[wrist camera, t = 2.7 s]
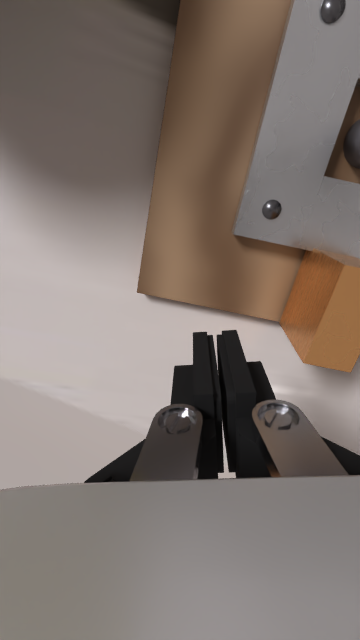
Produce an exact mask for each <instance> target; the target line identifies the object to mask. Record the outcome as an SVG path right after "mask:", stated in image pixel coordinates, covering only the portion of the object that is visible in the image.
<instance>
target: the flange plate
mask: <svg viewBox="0 0 360 640" xmlns="http://www.w3.org/2000/svg"><path fill="white" fill-rule="evenodd" d="M355 86H357V87H360V0H291V4H290V8H289V12H288V16H287V19H286V23H285V27H284V31H283V35H282V39H281V43H280V46H279V50H278V54H277V58H276V62H275V66H274V70H273V73H272V77H271V81H270V85H269V89H268V93H267V97H266V100H265V104H264V108H263V112H262V116H261V120H260V124H259V127H258V131H257V135H256V139H255V143H254V147H253V150H252V154H251V158H250V162H249V166H248V170H247V174H246V177H245V181H244V185H243V189H242V193H241V197H240V201H239V204H238V208H237V212H236V216H235V220H234V224H233V228H232V231H231V232H232V233H233V234H234V235H239V236H244V237H248V238H253V239H258V240H262V241H267V242H272V243H276V244H281V245H286V246H290V247H295V248H300V249H304V250H306V251H305V254H304V257H303V259H302V262H301V265H300V268H299V270H298V273H297V276H296V279H295V281H294V284H293V287H292V290H291V292H290V295H289V298H288V301H287V303H286V306H285V309H284V312H283V314H282V317H281V320H280V325H281V327H282V328H283V330H284V332H285V333H286V335H287V337H288V338H289V340H290V342H291V343H292V345H293V347H294V348H295V350H296V352H297V353H298V355H299V357H300V358H301V360H302V362H303V363H306V364H310V365H315V366H320V367H325V368H330V369H335V370H340V371H345V372H350V373H351V371H352V369H353V367H354V365H355V363H356V361H357V359H358V357H359V355H360V184H358V183H353V182H349V181H344V180H340V179H335V178H331V177H326V176H324V173H325V171H326V168H327V165H328V162H329V159H330V156H331V153H332V151H333V148H334V145H335V142H336V139H337V136H338V134H339V131H340V128H341V125H342V122H343V119H344V117H345V114H346V111H347V108H348V105H349V102H350V100H351V97H352V94H353V91H354V88H355Z"/></svg>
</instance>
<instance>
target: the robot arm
mask: <svg viewBox="0 0 360 640" xmlns="http://www.w3.org/2000/svg"><path fill="white" fill-rule="evenodd" d="M217 355H218V370H217V363H216V356H215V349H214V342H213V335H207V332H194V333H193V365H181V366H175V367H174V376H173V386H172V396H171V405H169V406H166V407H164V408H162V409H161V410H160V411H159V412H157V413H156V415H155V417H154V418H153V421H152V423H151V426H150V429H149V431H148V434H147V437H146V439H144V440H143V441H141V442H140V443H139V444H137V445H136V446H134V447H133V448H131V449H130V450H129V451H127V452H126V453H124V454H123V455H121V456H120V457H118V458H117V459H116V460H114V461H113V462H111V463H110V464H108V465H107V466H106V467H104V468H103V469H101V470H100V471H98V472H97V473H95V474H94V475H93V476H91V477H90V478H89V479H87V480H86V481H85V482H84V483H71V484H54V485H39V486H24V487H16V488H9V489H2V490H0V640H360V456H359V455H357V454H355V453H353V452H351V451H349V450H347V449H345V448H343V447H341V446H339V445H337V444H335V443H333V442H331V441H329V440H327V439H325V438H323V437H321V436H320V435H319V434H318V432H317V431H316V430H315V428H314V427H313V426H312V424H311V423H310V421H309V420H308V419H307V417H306V416H305V415H304V413H303V412H302V411H301V410H300V409H299V408H298V407H297V406H295V405H293V404H291V403H289V402H286V401H282V400H276V398H275V395H274V393H273V390H272V388H271V385H270V383H269V380H268V378H267V375H266V373H265V370H264V368H263V365H262V363H261V362H260V361H258V362H246V359H245V356H244V353H243V349H242V346H241V343H240V340H239V337H238V334H237V331H236V330H228V331H222V335H217ZM222 423H223V430H224V438H225V446H226V453H227V461H228V469H229V472H235V473H236V478H225V479H218V473H223V472H224V463H223V436H222Z"/></svg>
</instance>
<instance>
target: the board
mask: <svg viewBox="0 0 360 640" xmlns="http://www.w3.org/2000/svg"><path fill="white" fill-rule="evenodd" d="M290 4H291V0H180V7H179V13H178V20H177V27H176V33H175V40H174V47H173V53H172V60H171V67H170V74H169V80H168V87H167V94H166V100H165V107H164V114H163V120H162V127H161V134H160V141H159V147H158V154H157V161H156V167H155V174H154V181H153V187H152V194H151V201H150V207H149V214H148V221H147V228H146V234H145V241H144V248H143V254H142V261H141V268H140V274H139V281H138V288H137V293H142V294H147V295H152V296H156V297H161V298H166V299H171V300H176V301H181V302H186V303H190V304H195V305H200V306H205V307H210V308H215V309H220V310H224V311H229V312H234V313H239V314H244V315H249V316H254V317H258V318H263V319H268V320H273V321H278V322H280V320H281V317H282V314H283V312H284V309H285V306H286V303H287V301H288V298H289V295H290V292H291V290H292V287H293V284H294V281H295V279H296V276H297V273H298V270H299V268H300V265H301V262H302V259H303V257H304V254H305V251H306V250H304V249H300V248H295V247H290V246H286V245H281V244H276V243H272V242H267V241H262V240H258V239H253V238H248V237H244V236H239V235H234V234H233V233H232V232H231V231H232V228H233V224H234V220H235V216H236V212H237V208H238V204H239V201H240V197H241V193H242V189H243V185H244V181H245V177H246V174H247V170H248V166H249V162H250V158H251V154H252V150H253V147H254V143H255V139H256V135H257V131H258V127H259V124H260V120H261V116H262V112H263V108H264V104H265V100H266V97H267V93H268V89H269V85H270V81H271V77H272V73H273V70H274V66H275V62H276V58H277V54H278V50H279V46H280V43H281V39H282V35H283V31H284V27H285V23H286V19H287V16H288V12H289V8H290ZM324 176H326V177H331V178H335V179H340V180H344V181H349V182H353V183H358V184H360V87H357V86H355V88H354V91H353V94H352V97H351V100H350V102H349V105H348V108H347V111H346V114H345V117H344V119H343V122H342V125H341V128H340V131H339V134H338V136H337V139H336V142H335V145H334V148H333V151H332V153H331V156H330V159H329V162H328V165H327V168H326V171H325V173H324Z"/></svg>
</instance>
